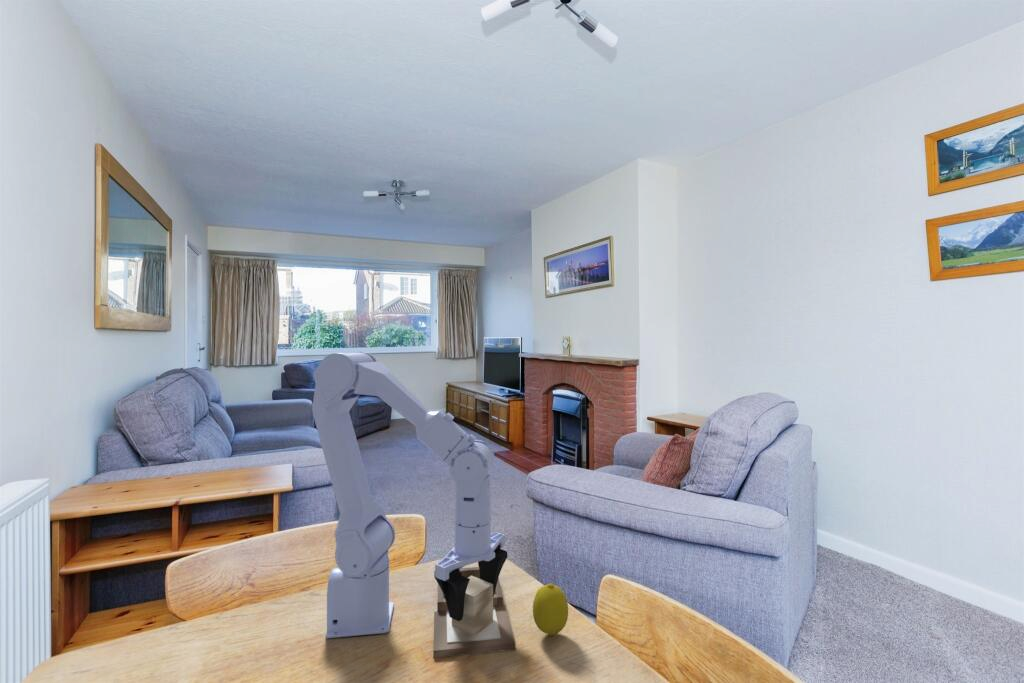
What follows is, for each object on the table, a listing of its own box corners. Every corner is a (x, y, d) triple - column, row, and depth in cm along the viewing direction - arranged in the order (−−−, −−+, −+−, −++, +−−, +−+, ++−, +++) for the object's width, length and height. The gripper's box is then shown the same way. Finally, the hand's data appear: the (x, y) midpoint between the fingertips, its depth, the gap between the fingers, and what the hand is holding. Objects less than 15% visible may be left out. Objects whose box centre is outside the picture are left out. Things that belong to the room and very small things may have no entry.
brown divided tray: (433, 657, 67) (433, 640, 67) (435, 583, 87) (435, 570, 87) (515, 649, 68) (515, 632, 68) (498, 578, 89) (498, 565, 89)
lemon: (570, 647, 69) (570, 593, 69) (533, 646, 69) (533, 593, 69) (566, 624, 75) (566, 575, 75) (532, 624, 75) (532, 574, 75)
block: (473, 636, 70) (473, 597, 70) (451, 625, 72) (451, 587, 72) (492, 621, 73) (493, 584, 73) (471, 611, 76) (471, 575, 76)
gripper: (460, 543, 65) (459, 639, 65) (519, 512, 76) (519, 594, 76) (425, 530, 69) (424, 621, 69) (486, 503, 80) (486, 581, 80)
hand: (472, 606), depth 73 cm, fingers open, 7 cm apart
